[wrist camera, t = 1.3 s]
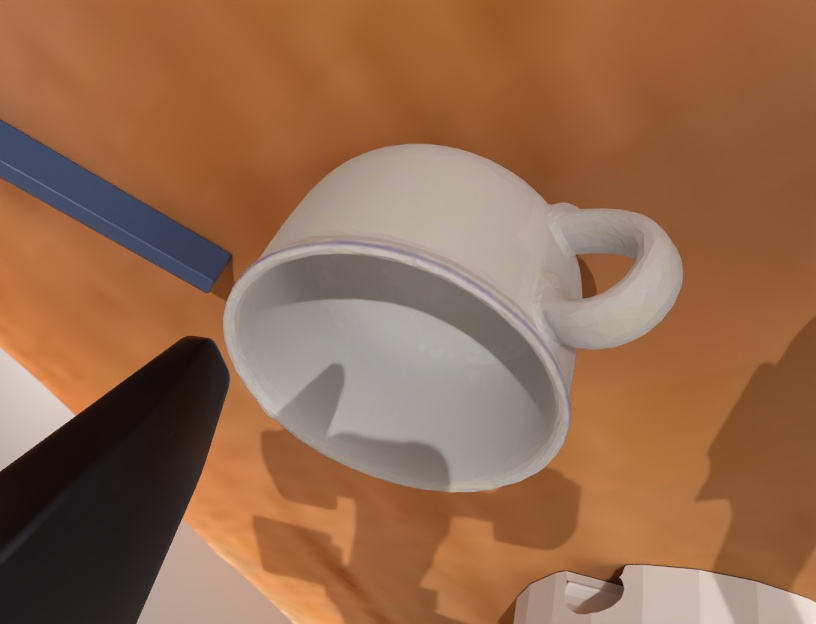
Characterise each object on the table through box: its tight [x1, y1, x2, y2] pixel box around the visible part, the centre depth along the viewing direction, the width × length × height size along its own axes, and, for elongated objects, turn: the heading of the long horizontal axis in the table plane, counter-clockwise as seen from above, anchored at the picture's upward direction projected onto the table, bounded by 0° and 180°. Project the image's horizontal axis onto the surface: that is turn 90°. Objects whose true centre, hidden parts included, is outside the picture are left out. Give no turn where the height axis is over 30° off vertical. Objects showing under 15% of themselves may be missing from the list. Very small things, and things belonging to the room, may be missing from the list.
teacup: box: [223, 144, 683, 493], centre depth 22 cm, size 14×11×8 cm
